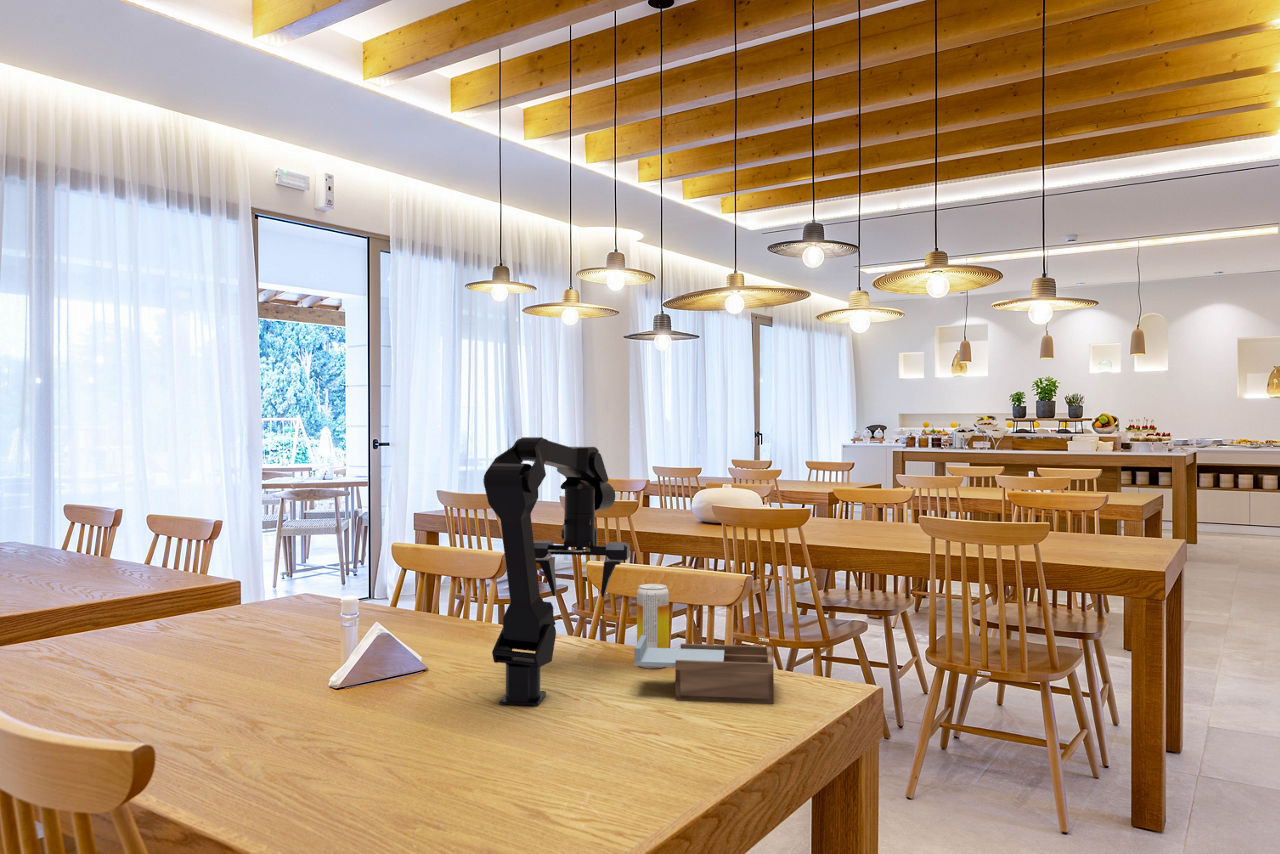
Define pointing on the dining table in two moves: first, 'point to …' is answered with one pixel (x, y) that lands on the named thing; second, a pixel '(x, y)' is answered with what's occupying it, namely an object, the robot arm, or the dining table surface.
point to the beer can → (653, 616)
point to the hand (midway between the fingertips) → (578, 596)
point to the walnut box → (727, 675)
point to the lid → (671, 655)
